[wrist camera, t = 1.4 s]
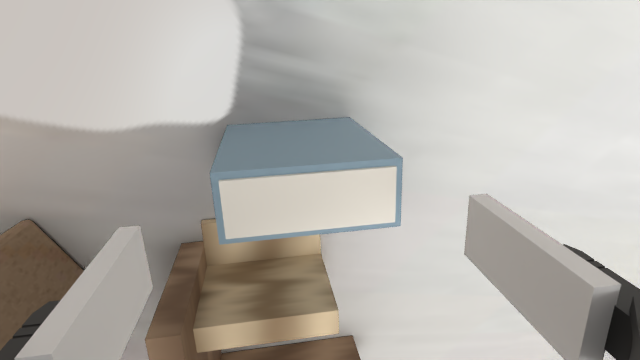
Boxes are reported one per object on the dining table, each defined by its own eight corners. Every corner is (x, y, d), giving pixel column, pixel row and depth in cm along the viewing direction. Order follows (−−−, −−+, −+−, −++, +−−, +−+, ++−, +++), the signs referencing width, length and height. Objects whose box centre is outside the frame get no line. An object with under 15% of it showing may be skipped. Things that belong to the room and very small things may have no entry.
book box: (232, 172, 33) (218, 246, 21) (227, 125, 32) (209, 174, 20) (350, 163, 34) (401, 228, 22) (349, 117, 33) (404, 159, 21)
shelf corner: (202, 371, 39) (181, 503, 28) (181, 243, 34) (144, 339, 23) (352, 349, 41) (389, 465, 30) (351, 226, 36) (393, 307, 25)
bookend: (211, 280, 36) (196, 352, 27) (202, 220, 34) (184, 277, 25) (320, 268, 37) (339, 333, 29) (317, 209, 35) (337, 260, 27)
